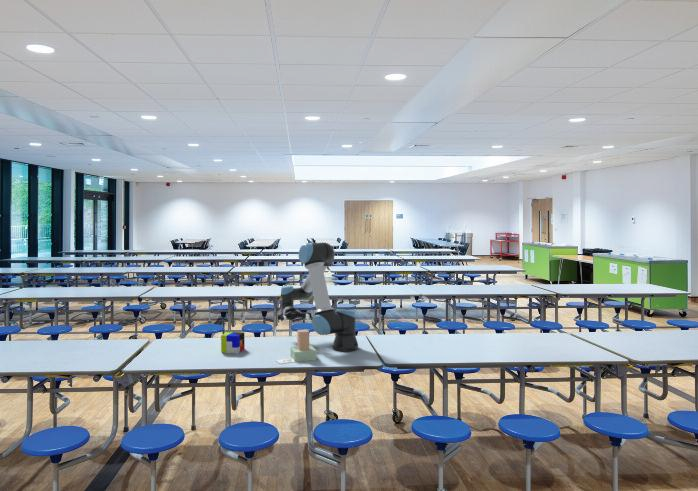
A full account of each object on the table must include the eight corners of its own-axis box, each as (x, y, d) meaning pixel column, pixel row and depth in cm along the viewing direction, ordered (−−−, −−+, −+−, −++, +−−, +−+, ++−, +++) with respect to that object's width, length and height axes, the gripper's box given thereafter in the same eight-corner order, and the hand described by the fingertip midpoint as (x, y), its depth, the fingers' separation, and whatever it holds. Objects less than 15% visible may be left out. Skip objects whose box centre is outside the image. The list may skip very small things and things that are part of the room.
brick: (307, 347, 287) (307, 329, 286) (309, 349, 282) (309, 331, 281) (297, 347, 285) (297, 330, 285) (299, 350, 280) (299, 332, 280)
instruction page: (293, 358, 282) (293, 357, 282) (297, 361, 276) (297, 361, 276) (275, 360, 278) (275, 360, 278) (279, 363, 272) (279, 363, 272)
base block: (311, 354, 291) (311, 345, 291) (316, 359, 280) (316, 350, 279) (290, 355, 288) (290, 347, 287) (294, 361, 276) (294, 352, 276)
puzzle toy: (237, 353, 293) (237, 336, 293) (221, 352, 295) (221, 335, 295) (244, 349, 303) (244, 332, 303) (228, 348, 305) (228, 331, 305)
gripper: (310, 317, 320) (318, 323, 300) (270, 320, 313) (275, 326, 293) (310, 305, 320) (318, 310, 300) (270, 308, 313) (275, 313, 293)
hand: (297, 318), depth 296 cm, fingers open, 13 cm apart
